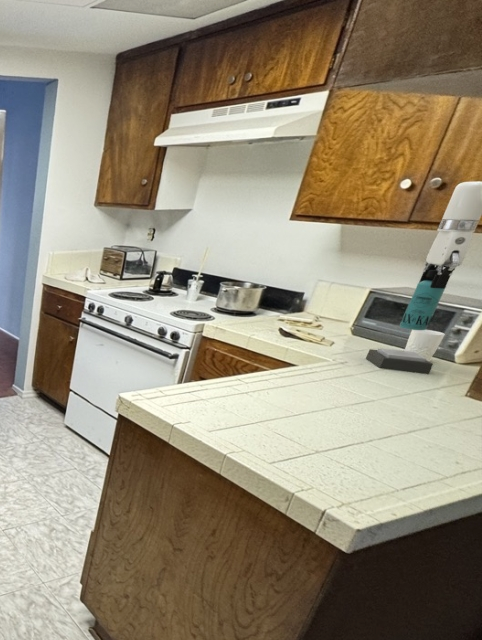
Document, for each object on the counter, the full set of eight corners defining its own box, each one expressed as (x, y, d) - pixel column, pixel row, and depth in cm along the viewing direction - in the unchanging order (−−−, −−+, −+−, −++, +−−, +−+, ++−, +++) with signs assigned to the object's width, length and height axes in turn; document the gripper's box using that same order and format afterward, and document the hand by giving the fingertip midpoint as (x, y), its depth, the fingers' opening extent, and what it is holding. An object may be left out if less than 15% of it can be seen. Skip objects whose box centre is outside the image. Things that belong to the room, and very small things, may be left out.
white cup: (417, 356, 168) (429, 329, 164) (438, 363, 161) (452, 335, 157) (393, 355, 169) (405, 328, 165) (413, 362, 161) (426, 334, 158)
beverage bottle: (395, 329, 157) (421, 268, 150) (423, 332, 153) (451, 270, 146) (398, 332, 152) (424, 269, 145) (427, 336, 148) (456, 271, 141)
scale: (411, 363, 160) (415, 354, 158) (428, 374, 150) (433, 363, 148) (365, 358, 165) (369, 349, 163) (379, 368, 155) (383, 358, 153)
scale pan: (411, 356, 158) (413, 351, 157) (424, 363, 150) (426, 358, 150) (376, 352, 162) (378, 347, 161) (387, 359, 154) (389, 354, 154)
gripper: (492, 227, 132) (463, 291, 138) (458, 226, 146) (433, 283, 153) (456, 226, 135) (428, 289, 141) (426, 225, 149) (402, 282, 156)
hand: (431, 286), depth 147 cm, fingers closed on beverage bottle, 6 cm apart
